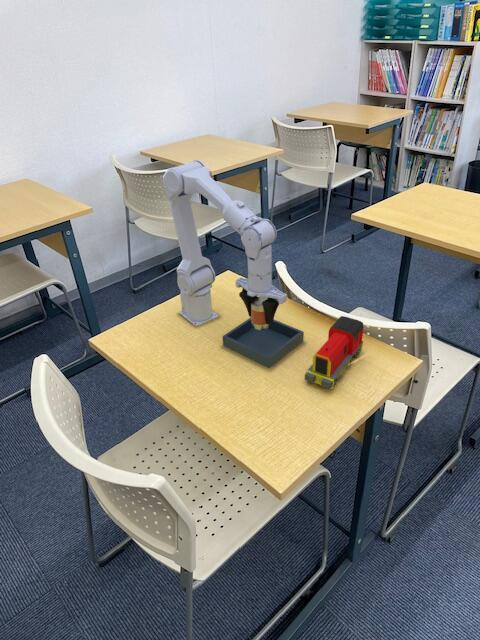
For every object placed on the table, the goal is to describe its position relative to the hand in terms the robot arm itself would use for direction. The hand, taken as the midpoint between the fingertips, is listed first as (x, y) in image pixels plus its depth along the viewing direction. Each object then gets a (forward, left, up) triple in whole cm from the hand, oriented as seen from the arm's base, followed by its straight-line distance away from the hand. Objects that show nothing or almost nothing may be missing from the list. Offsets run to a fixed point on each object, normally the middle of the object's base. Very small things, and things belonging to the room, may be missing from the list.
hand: (261, 318), depth 123 cm
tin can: (0, 0, -2) cm, 2 cm away
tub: (0, +1, -9) cm, 9 cm away
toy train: (+19, +8, -9) cm, 22 cm away
